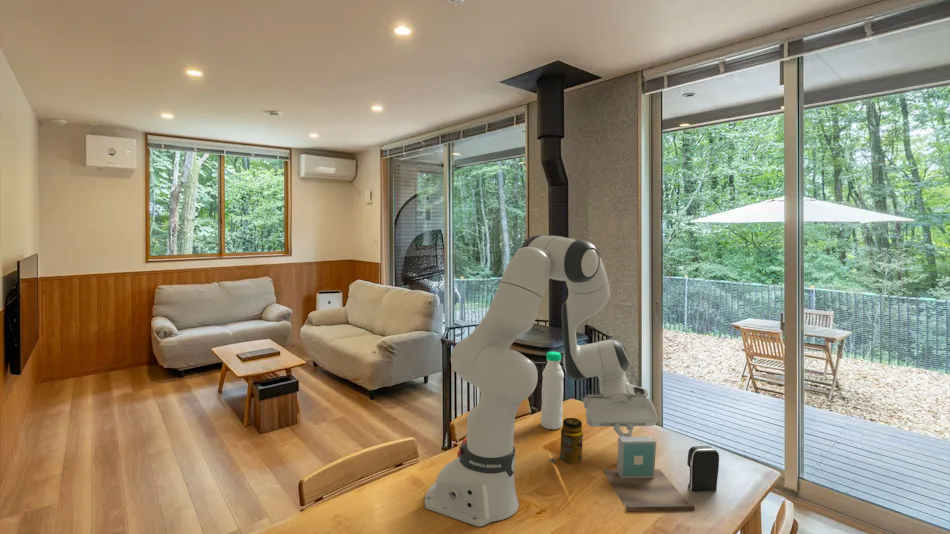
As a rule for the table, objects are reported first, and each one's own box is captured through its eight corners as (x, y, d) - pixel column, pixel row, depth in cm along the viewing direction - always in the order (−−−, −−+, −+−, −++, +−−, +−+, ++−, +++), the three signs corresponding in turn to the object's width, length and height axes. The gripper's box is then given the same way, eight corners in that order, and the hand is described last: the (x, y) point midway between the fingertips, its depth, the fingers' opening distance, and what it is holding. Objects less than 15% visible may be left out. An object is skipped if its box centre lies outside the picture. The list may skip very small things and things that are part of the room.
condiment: (588, 463, 136) (589, 422, 135) (566, 471, 131) (568, 429, 130) (569, 453, 142) (571, 413, 141) (548, 460, 138) (549, 420, 136)
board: (601, 472, 131) (602, 466, 131) (659, 471, 132) (659, 465, 132) (627, 514, 112) (627, 507, 112) (694, 513, 113) (694, 506, 113)
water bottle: (550, 419, 166) (552, 348, 164) (566, 426, 161) (569, 353, 158) (536, 425, 162) (538, 352, 159) (552, 432, 156) (554, 356, 154)
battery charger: (708, 485, 126) (711, 443, 125) (717, 493, 122) (720, 450, 121) (683, 486, 125) (686, 444, 124) (691, 495, 121) (694, 451, 120)
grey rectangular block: (620, 478, 127) (622, 441, 126) (616, 472, 130) (618, 436, 129) (654, 478, 127) (656, 441, 126) (649, 472, 130) (651, 436, 130)
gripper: (584, 390, 141) (593, 437, 132) (652, 389, 142) (665, 436, 133) (579, 399, 146) (587, 445, 137) (645, 398, 147) (657, 444, 138)
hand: (626, 440), depth 135 cm, fingers closed
